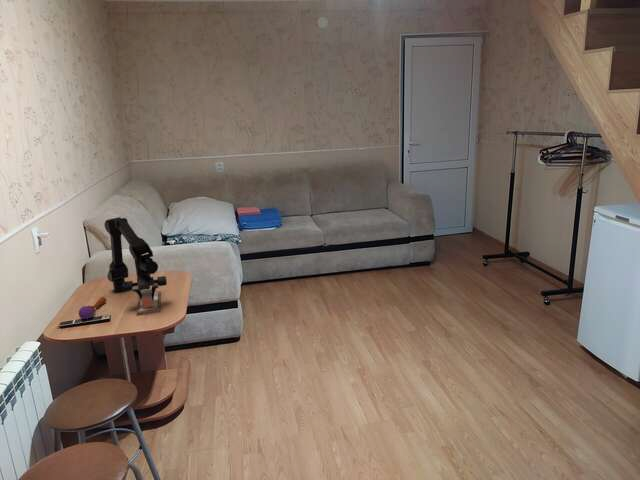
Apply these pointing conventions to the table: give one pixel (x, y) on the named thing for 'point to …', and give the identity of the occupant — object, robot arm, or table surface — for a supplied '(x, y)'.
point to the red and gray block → (147, 298)
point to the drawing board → (149, 309)
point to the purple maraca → (90, 309)
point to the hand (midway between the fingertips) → (148, 300)
